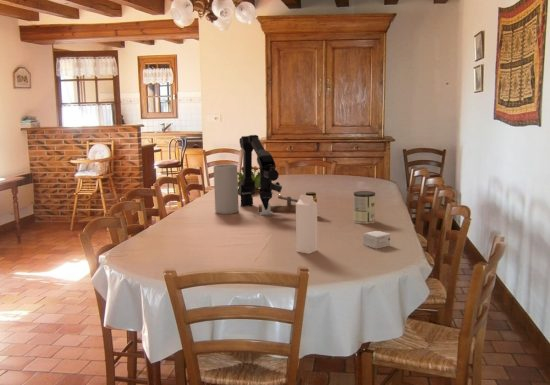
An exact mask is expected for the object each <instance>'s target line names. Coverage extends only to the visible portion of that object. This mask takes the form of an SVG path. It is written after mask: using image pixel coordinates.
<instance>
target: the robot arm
mask: <svg viewBox="0 0 550 385" xmlns="http://www.w3.org/2000/svg"><path fill="white" fill-rule="evenodd" d="M239 146H240V148H241V150H242V155H243V156H242V157H243V159H242V162H243V163H242V164H243V165H242V167H243V171H242V174H243V178H242V180H241V181H240V186H239V187H238V196H240V207H252V206H253V204H254V197H253V195H255V193H256V192H255V182H254V181H253V179H252V172H253V171H252V170H253V169H252V167H253V166H252V165H253V163H252V162H253V160H252V159H253V153H252V152H255V154H256V156H257V158H256V163H257V164H258V166H259V167H258V170H259V172H260V188H259V189H260V191H259V198H260V200H261V204H262V203H263V206H264V208H265V210H267V209H268V203H270V200H271V199H272V198H273V192H272V191H275V192H277V193H278V194H279V193H280V194H281V192H282V189H283V186H282V185H280V182H279V181H277V180H278V179H279V176H280V175H279V172H278V171H277V170H276V167H277V166H276V162H275V159H274V157H273V156H272V154H271V153H270V152H269V151H267V150H266V149H265V147H264V145H263V144H262V142H261V141H260V138H259V135H257V134H249V135H244V136H243V135H242V136H241V137H240V138H239ZM275 181H276V182H275Z"/></svg>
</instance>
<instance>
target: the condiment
mask: <svg viewBox="0 0 550 385" xmlns="http://www.w3.org/2000/svg"><path fill="white" fill-rule="evenodd" d="M305 195H308V196H313V200H314V201H315V202H316V203H317V202H318V198H317V192H315V191H308V192H305ZM317 204H318V203H317ZM317 217H320V215H319V214H317Z"/></svg>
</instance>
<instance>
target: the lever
mask: <svg viewBox="0 0 550 385" xmlns="http://www.w3.org/2000/svg"><path fill="white" fill-rule="evenodd" d="M277 199H279V200H284V201H287V197H285V196H283V195H282V194H281V193H280V194H278V196H277ZM298 201H299V199H296V198H292V197H291V202H293V203H294V202H295V203H297V202H298Z"/></svg>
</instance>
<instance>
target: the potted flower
mask: <svg viewBox="0 0 550 385" xmlns="http://www.w3.org/2000/svg"><path fill="white" fill-rule="evenodd" d="M240 170H241V172H239V171H237V173H238V188H239V186H240V181H241V180H242V178H243V166H241V167H240ZM258 170H259V167H257V166H255V165H254V166H252V179H253V181H254V182H255V193H257V192H260V170H259V171H258ZM256 172H257V174H256Z"/></svg>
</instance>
